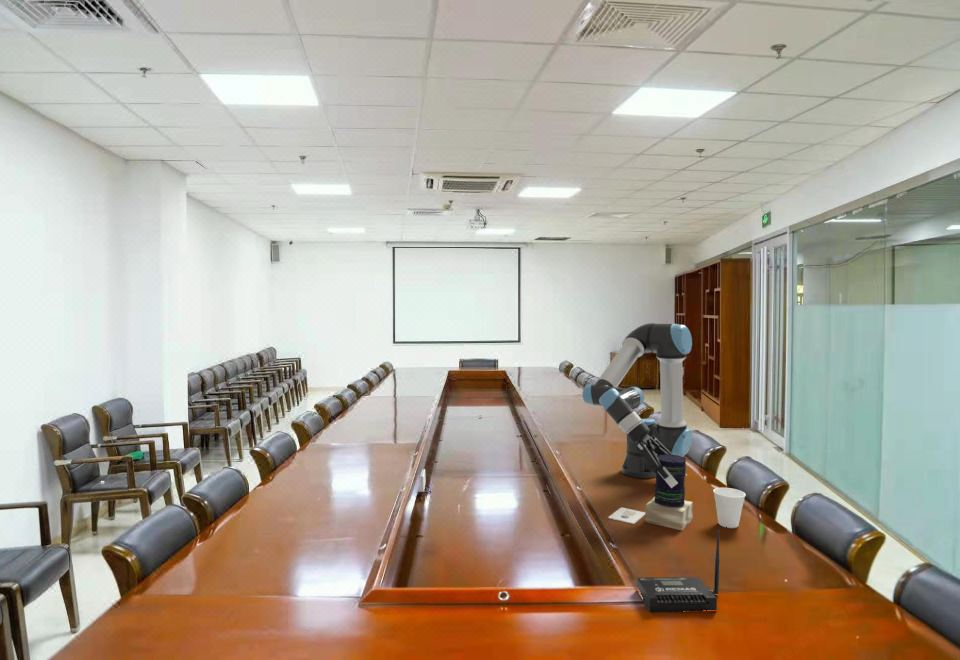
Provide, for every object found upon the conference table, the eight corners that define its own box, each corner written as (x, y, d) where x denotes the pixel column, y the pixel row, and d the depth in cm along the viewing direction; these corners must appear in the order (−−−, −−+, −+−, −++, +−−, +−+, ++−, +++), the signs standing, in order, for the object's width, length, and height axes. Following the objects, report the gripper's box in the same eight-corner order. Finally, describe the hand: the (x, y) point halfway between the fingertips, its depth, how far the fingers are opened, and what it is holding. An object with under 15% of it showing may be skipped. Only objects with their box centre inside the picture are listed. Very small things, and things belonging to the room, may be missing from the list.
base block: (656, 511, 205) (657, 494, 205) (692, 519, 198) (693, 501, 198) (645, 522, 195) (645, 504, 195) (682, 530, 188) (682, 512, 188)
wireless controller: (652, 618, 136) (654, 546, 136) (634, 589, 150) (635, 523, 150) (736, 617, 137) (739, 545, 136) (710, 588, 151) (713, 523, 150)
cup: (748, 532, 188) (749, 498, 187) (715, 529, 190) (716, 495, 189) (740, 520, 198) (741, 488, 197) (709, 518, 200) (710, 486, 199)
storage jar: (650, 496, 202) (651, 453, 201) (679, 497, 201) (681, 454, 201) (658, 506, 192) (659, 461, 191) (688, 507, 192) (690, 462, 191)
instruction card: (621, 508, 208) (621, 507, 208) (646, 513, 203) (646, 512, 203) (608, 518, 199) (608, 517, 199) (633, 524, 193) (633, 522, 193)
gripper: (638, 429, 214) (680, 479, 205) (614, 440, 195) (660, 497, 187) (652, 416, 210) (696, 467, 202) (630, 427, 192) (677, 483, 184)
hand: (679, 481), depth 194 cm, fingers closed on storage jar, 10 cm apart
